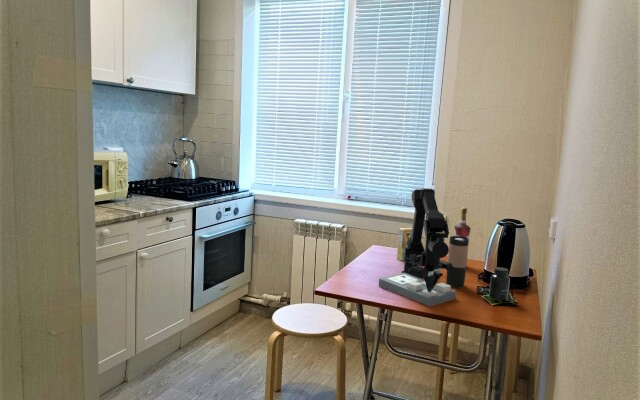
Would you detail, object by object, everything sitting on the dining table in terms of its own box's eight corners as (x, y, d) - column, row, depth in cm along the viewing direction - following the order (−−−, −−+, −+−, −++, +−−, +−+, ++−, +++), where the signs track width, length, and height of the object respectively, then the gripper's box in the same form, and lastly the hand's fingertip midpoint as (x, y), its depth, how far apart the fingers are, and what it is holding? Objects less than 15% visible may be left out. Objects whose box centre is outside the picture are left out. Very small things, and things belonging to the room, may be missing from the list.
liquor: (449, 263, 225) (454, 206, 221) (464, 264, 225) (470, 207, 221) (452, 267, 218) (457, 208, 214) (468, 269, 218) (474, 209, 213)
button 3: (441, 290, 181) (442, 282, 180) (450, 293, 178) (450, 285, 177) (434, 292, 178) (435, 284, 178) (443, 295, 175) (444, 287, 175)
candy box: (411, 257, 233) (414, 227, 231) (416, 259, 230) (419, 229, 227) (396, 258, 230) (398, 228, 228) (401, 260, 226) (403, 229, 224)
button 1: (413, 288, 181) (414, 280, 181) (421, 292, 178) (422, 283, 178) (406, 290, 179) (407, 282, 178) (414, 293, 176) (415, 285, 175)
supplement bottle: (505, 303, 175) (509, 272, 173) (486, 299, 179) (489, 269, 177) (509, 298, 181) (512, 268, 179) (490, 294, 184) (493, 265, 182)
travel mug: (451, 280, 199) (455, 235, 196) (468, 285, 194) (472, 238, 191) (441, 284, 194) (446, 237, 191) (458, 289, 188) (463, 241, 185)
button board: (403, 279, 198) (404, 272, 197) (455, 298, 178) (456, 290, 177) (378, 285, 189) (379, 277, 188) (430, 306, 169) (430, 297, 168)
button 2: (427, 297, 176) (428, 288, 176) (436, 300, 173) (437, 292, 172) (420, 299, 174) (421, 290, 173) (429, 302, 170) (430, 294, 170)
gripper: (431, 242, 182) (428, 281, 185) (398, 248, 171) (395, 289, 173) (455, 249, 174) (451, 289, 176) (422, 255, 162) (419, 298, 165)
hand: (429, 291), depth 173 cm, fingers closed, pressing on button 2
